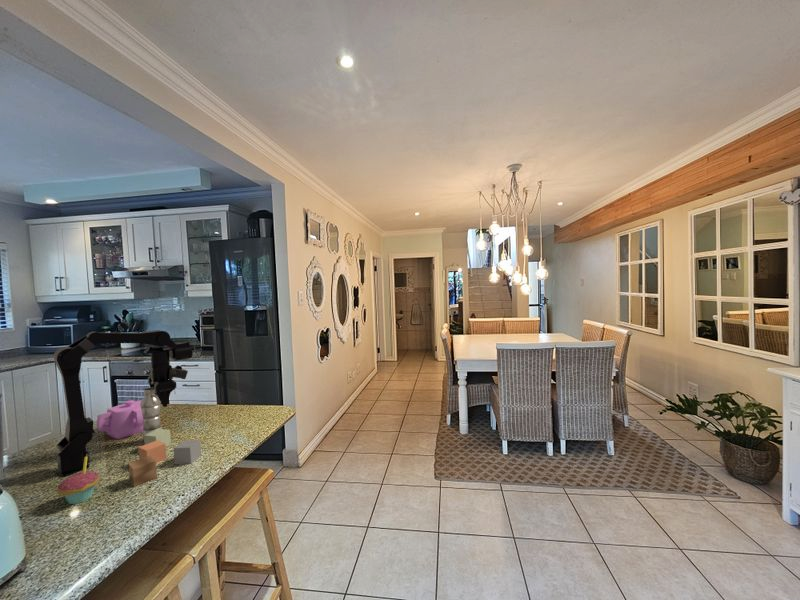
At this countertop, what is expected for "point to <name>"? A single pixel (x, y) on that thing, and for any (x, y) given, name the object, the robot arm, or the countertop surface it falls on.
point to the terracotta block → (153, 451)
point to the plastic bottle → (150, 411)
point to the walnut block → (142, 471)
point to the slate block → (187, 452)
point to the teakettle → (122, 420)
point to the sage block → (158, 436)
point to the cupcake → (79, 485)
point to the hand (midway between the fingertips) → (162, 403)
